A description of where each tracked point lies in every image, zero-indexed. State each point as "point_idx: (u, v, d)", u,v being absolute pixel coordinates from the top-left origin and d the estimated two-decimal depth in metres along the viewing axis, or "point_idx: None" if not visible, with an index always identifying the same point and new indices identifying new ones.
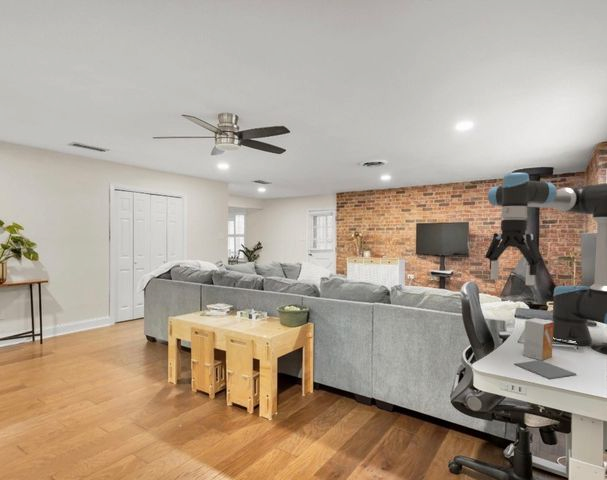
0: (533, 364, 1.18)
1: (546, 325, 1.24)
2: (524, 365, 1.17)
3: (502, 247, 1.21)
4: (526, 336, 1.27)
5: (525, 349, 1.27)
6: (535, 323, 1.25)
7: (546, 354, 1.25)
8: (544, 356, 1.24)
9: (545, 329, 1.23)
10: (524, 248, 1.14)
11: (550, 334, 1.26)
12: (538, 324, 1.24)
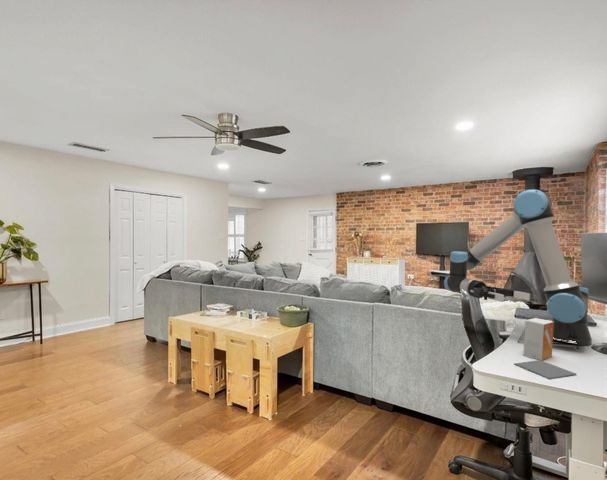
0: (533, 364, 1.18)
1: (546, 325, 1.24)
2: (524, 365, 1.17)
3: (497, 293, 1.48)
4: (526, 336, 1.27)
5: (525, 349, 1.27)
6: (535, 323, 1.25)
7: (546, 354, 1.25)
8: (544, 356, 1.24)
9: (545, 329, 1.23)
10: None
11: (550, 334, 1.26)
12: (538, 324, 1.24)
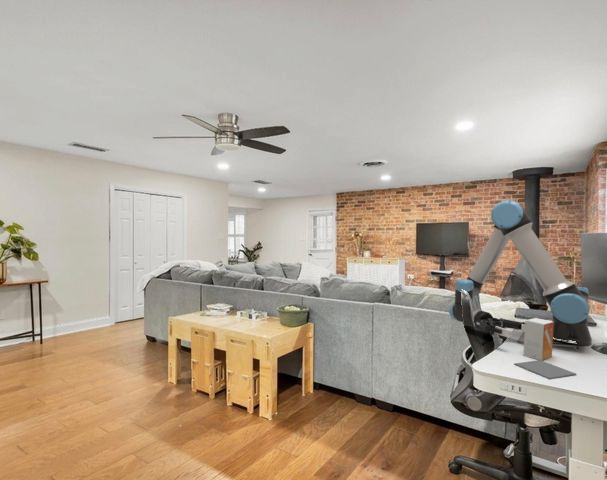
0: (533, 364, 1.18)
1: (546, 325, 1.24)
2: (524, 365, 1.17)
3: (504, 326, 1.44)
4: (526, 336, 1.27)
5: (525, 349, 1.27)
6: (535, 323, 1.25)
7: (546, 354, 1.25)
8: (544, 356, 1.24)
9: (545, 329, 1.23)
10: (489, 326, 1.42)
11: (550, 334, 1.26)
12: (538, 324, 1.24)
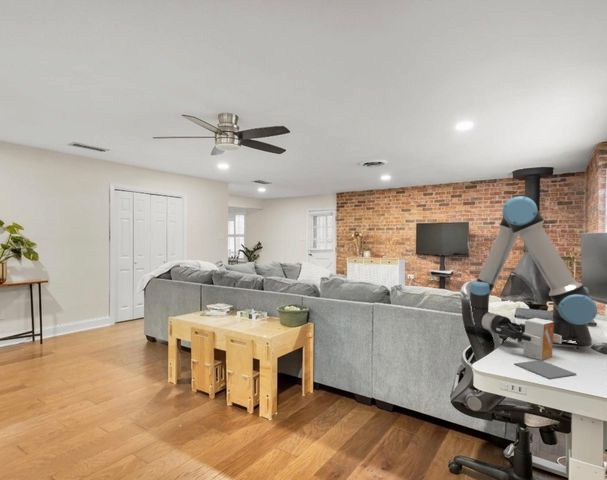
0: (533, 364, 1.18)
1: (546, 325, 1.24)
2: (524, 365, 1.17)
3: (523, 332, 1.36)
4: None
5: (525, 349, 1.27)
6: (535, 323, 1.25)
7: (546, 354, 1.25)
8: (544, 356, 1.24)
9: (545, 329, 1.23)
10: None
11: (550, 334, 1.26)
12: (538, 324, 1.24)
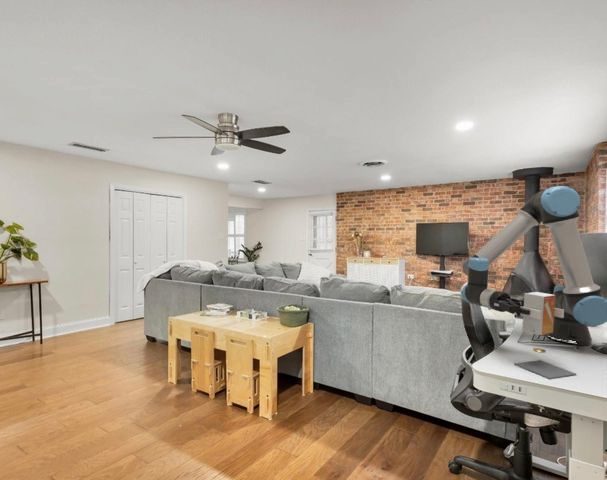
0: (533, 364, 1.18)
1: (547, 298, 1.15)
2: (524, 365, 1.17)
3: None
4: None
5: (524, 324, 1.19)
6: (535, 296, 1.17)
7: (547, 329, 1.16)
8: (545, 330, 1.16)
9: (545, 302, 1.15)
10: None
11: (552, 308, 1.18)
12: (538, 297, 1.16)
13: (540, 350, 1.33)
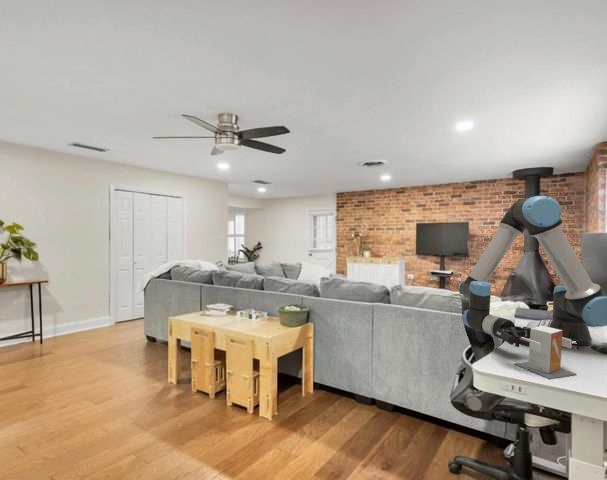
0: None
1: (554, 334, 1.11)
2: (524, 365, 1.17)
3: (529, 336, 1.24)
4: None
5: (530, 360, 1.15)
6: (542, 332, 1.12)
7: (554, 366, 1.12)
8: (552, 368, 1.11)
9: (553, 339, 1.11)
10: None
11: (559, 344, 1.13)
12: (545, 333, 1.11)
13: None
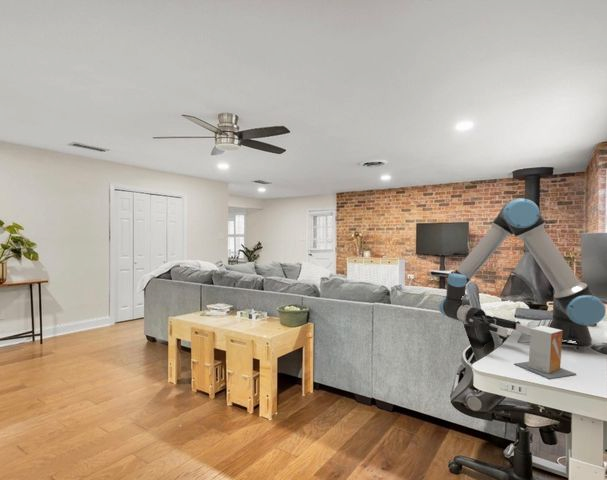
0: None
1: (554, 334, 1.11)
2: (524, 365, 1.17)
3: (498, 325, 1.36)
4: (531, 346, 1.15)
5: (530, 360, 1.15)
6: (542, 332, 1.12)
7: (554, 366, 1.12)
8: (552, 368, 1.11)
9: (553, 339, 1.11)
10: None
11: (559, 344, 1.13)
12: (545, 333, 1.11)
13: None
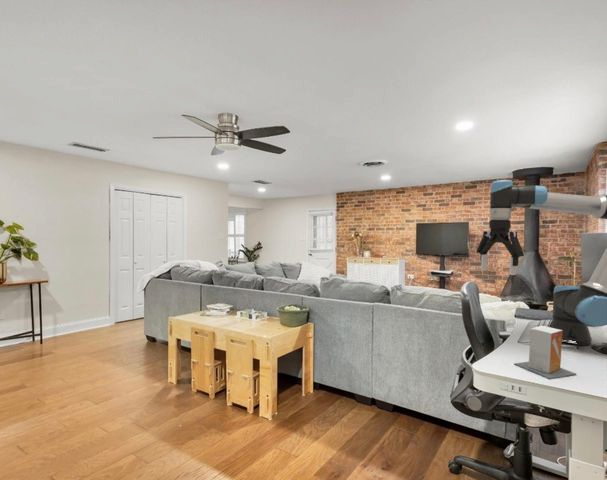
0: None
1: (554, 334, 1.11)
2: (524, 365, 1.17)
3: (490, 243, 1.43)
4: (531, 346, 1.15)
5: (530, 360, 1.15)
6: (542, 332, 1.12)
7: (554, 366, 1.12)
8: (552, 368, 1.11)
9: (553, 339, 1.11)
10: (508, 243, 1.36)
11: (559, 344, 1.13)
12: (545, 333, 1.11)
13: None
